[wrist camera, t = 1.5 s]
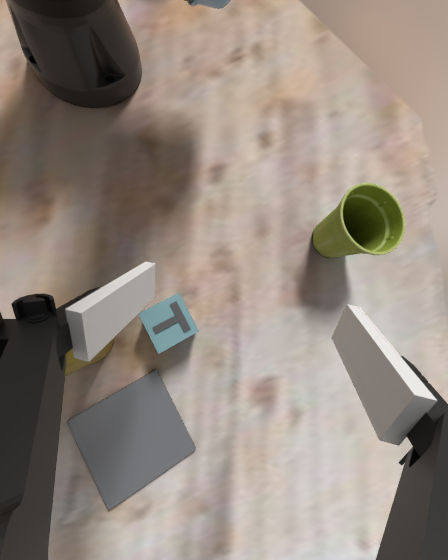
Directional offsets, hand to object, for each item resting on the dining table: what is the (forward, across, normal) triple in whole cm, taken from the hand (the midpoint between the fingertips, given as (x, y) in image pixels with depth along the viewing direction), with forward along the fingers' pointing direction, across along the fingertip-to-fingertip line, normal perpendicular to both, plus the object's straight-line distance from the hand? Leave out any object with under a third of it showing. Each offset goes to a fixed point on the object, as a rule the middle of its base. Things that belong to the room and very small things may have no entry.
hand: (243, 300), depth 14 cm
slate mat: (+1, -9, -22) cm, 24 cm away
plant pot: (+24, +12, +1) cm, 27 cm away
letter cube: (+10, -9, -11) cm, 17 cm away
